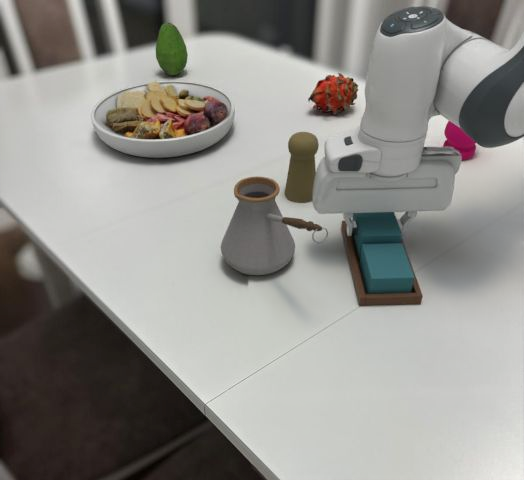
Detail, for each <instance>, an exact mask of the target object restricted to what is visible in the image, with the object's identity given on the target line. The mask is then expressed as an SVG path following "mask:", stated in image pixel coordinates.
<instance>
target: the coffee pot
mask: <svg viewBox="0 0 524 480" xmlns="http://www.w3.org/2000/svg"><path fill="white" fill-rule="evenodd" d="M280 190H281V187H280V185H279V183H278V182H277V181H276V180H274V179H272V178H269V177H265V176H258V175H257V176H248V177H245V178H241V180H239V181H237V183H235V185H234V188H233V195H234V197H235V198H236V199H237V201H238V203H237V205H236V208H235V209H234V212H233V214H232V217H231V219H230V221H229V224H228V226H227V229H226V231H225V233H224V236H223V238H222V240H221V244H220V252H221V255H222V257H223V258H224V261H226V264H228V265H229V266H230V267H231V268H232V269H234V270H236V271H237V272H239V273H241V274H243V275H245V276H249V275H250V276H265V275H270V274H274V273H276V272H278V271H280V270H282V269H283V268H284V267H285V266H286V265H288V264H289V263H290V261H291V260H292V258H293V256H294V254H295V251H296V242H295V240H294V237H293V235H292V232H291V231H290V229H289V227H288V226H290V227H292V228H294V229H298V230H306V231H307V232H312V234H311V239H312V241H313V242H314V243H317V244H321V243H323V242H325V241H326V240H327V238H328V237H329V231H328V229H327V228H325V227H323V226H321V225H319V224H318V223H314V222H313V221H312V220H309V221H306V220H304V219H303V218H296V217H289V216H288V217H287V216H283V214H282V211H281V210H280V208H279V206H278V203H277V201H276V198H277V197H278V195H279V194H280ZM322 230H325V232H326V236H325V237H324V239H322V240H321V241H316V240H315V238H314V237H315V233H316V232H320V231H322Z"/></svg>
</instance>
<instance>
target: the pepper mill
mask: <svg viewBox="0 0 524 480" xmlns="http://www.w3.org/2000/svg"><path fill="white" fill-rule="evenodd" d="M443 132H444V137H445V139H446V140H444V142H443V145H442V147H445V146H451V147H454V149H455V150H458V151H459V152H460V153H461V156H462V160H461V161H467V160H470V159H472V158H473V157H474V156H475V153H476V149H477V145H476V144H477V143H476V142H475V141H474V140H473V139H471V138H470V137H469V136H468V135H467V134H466V133H465V132H464V131H462V129H461V128H460V127H458V126H457V125H455V124H454V123H452V122H450V121H449V120H448V121H447V123H446V125H445V128H444V131H443Z"/></svg>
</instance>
